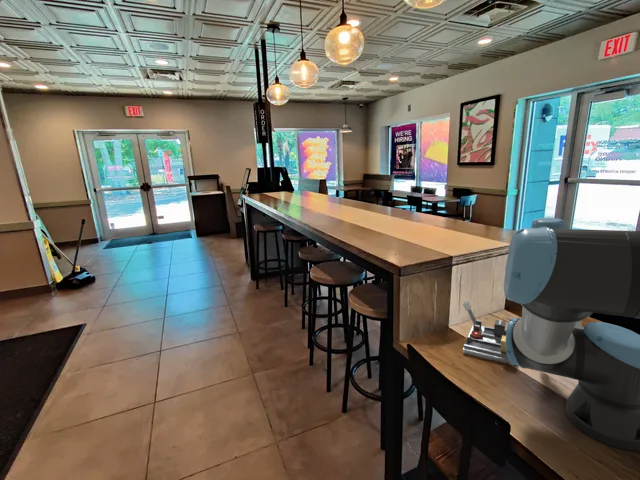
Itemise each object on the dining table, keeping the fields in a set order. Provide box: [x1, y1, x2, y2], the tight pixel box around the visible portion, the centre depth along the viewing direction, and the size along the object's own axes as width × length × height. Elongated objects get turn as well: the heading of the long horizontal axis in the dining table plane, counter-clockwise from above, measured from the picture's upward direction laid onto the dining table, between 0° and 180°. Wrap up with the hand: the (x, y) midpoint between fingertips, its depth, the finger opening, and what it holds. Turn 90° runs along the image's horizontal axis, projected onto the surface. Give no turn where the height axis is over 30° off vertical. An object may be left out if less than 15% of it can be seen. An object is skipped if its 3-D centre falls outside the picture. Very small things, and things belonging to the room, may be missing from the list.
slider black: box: [493, 319, 507, 337], centre depth 109 cm, size 4×3×5 cm
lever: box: [462, 300, 479, 325], centre depth 114 cm, size 2×2×10 cm
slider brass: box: [500, 335, 507, 354], centre depth 100 cm, size 4×3×5 cm
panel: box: [462, 319, 513, 366], centre depth 107 cm, size 18×15×4 cm
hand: (537, 346), depth 95 cm, fingers closed
